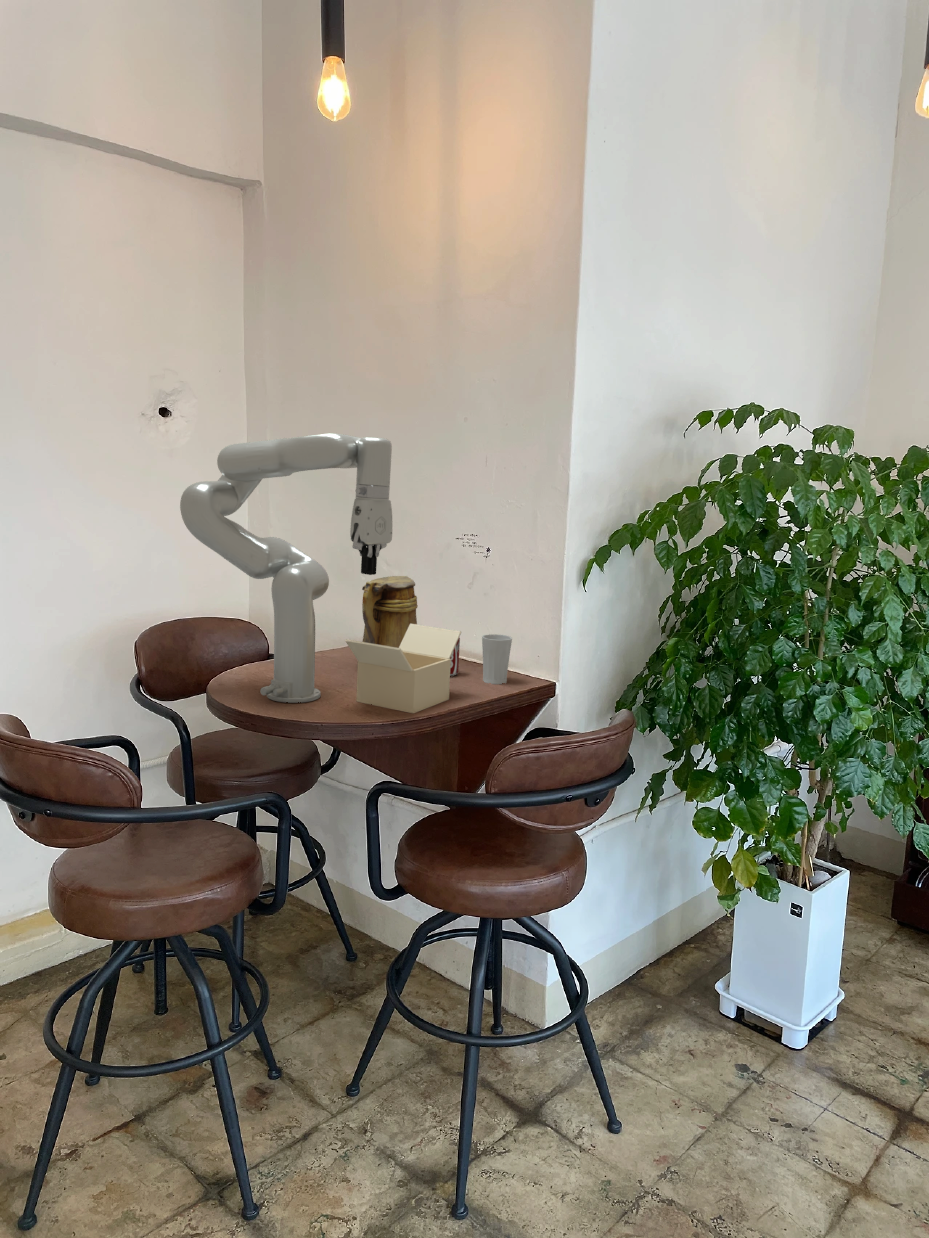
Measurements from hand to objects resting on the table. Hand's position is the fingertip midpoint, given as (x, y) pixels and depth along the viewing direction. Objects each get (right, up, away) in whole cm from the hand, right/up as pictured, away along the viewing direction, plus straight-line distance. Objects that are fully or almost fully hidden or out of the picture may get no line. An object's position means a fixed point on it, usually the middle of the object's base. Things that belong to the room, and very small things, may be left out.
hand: (368, 573), depth 205 cm
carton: (+7, -30, +10) cm, 32 cm away
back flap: (+13, -16, +17) cm, 27 cm away
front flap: (+3, -18, -1) cm, 19 cm away
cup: (+30, -27, +34) cm, 53 cm away
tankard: (0, -24, +44) cm, 50 cm away
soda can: (+17, -26, +39) cm, 49 cm away
